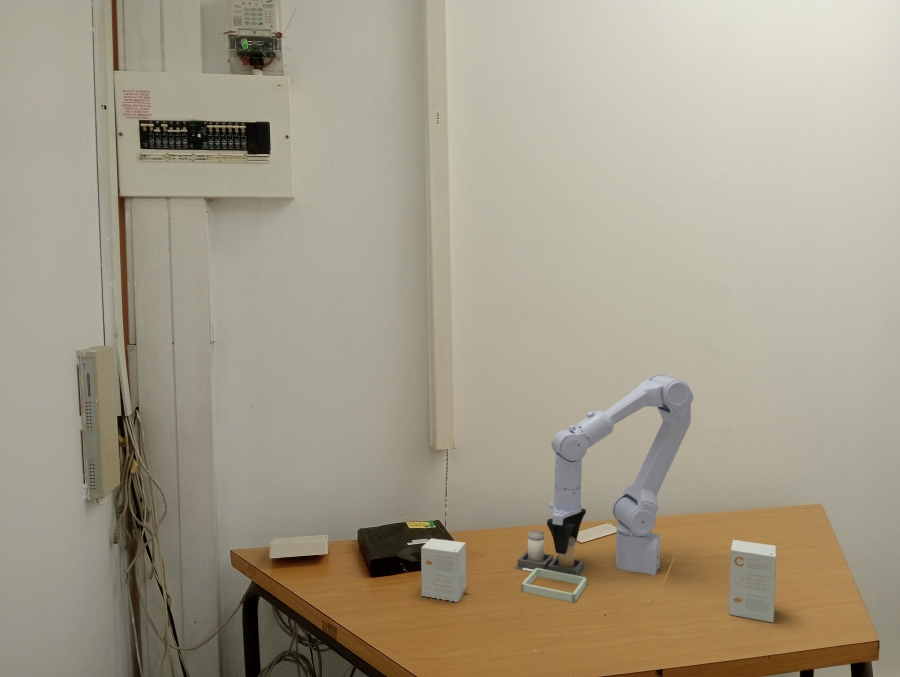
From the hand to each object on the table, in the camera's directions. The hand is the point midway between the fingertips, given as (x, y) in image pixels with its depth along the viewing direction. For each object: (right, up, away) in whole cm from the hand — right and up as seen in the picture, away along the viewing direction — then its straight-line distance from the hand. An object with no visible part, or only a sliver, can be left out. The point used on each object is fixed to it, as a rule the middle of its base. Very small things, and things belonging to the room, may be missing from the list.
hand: (566, 547), depth 154 cm
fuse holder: (-3, -6, +2) cm, 7 cm away
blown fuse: (0, -5, 0) cm, 5 cm away
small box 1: (-27, -7, -10) cm, 29 cm away
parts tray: (-4, -7, -9) cm, 12 cm away
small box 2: (+33, -8, -17) cm, 38 cm away
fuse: (-6, -5, +3) cm, 9 cm away
